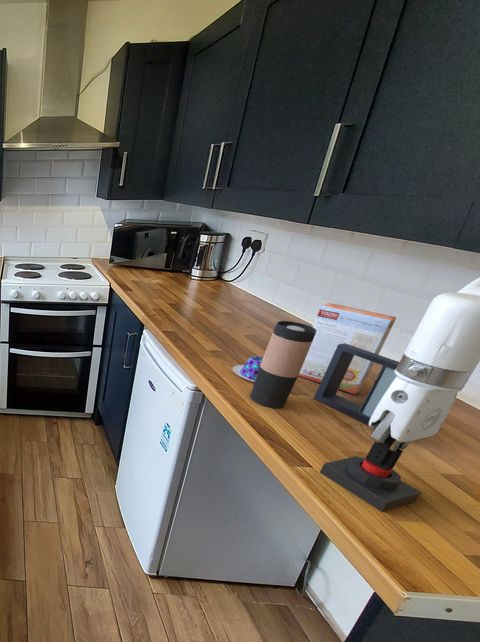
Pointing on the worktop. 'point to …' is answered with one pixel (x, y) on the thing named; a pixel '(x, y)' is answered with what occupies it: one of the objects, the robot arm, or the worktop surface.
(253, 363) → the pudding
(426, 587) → the worktop surface
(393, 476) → the control block
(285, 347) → the travel mug
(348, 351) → the window frame
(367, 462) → the button
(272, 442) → the worktop surface
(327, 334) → the cracker box
